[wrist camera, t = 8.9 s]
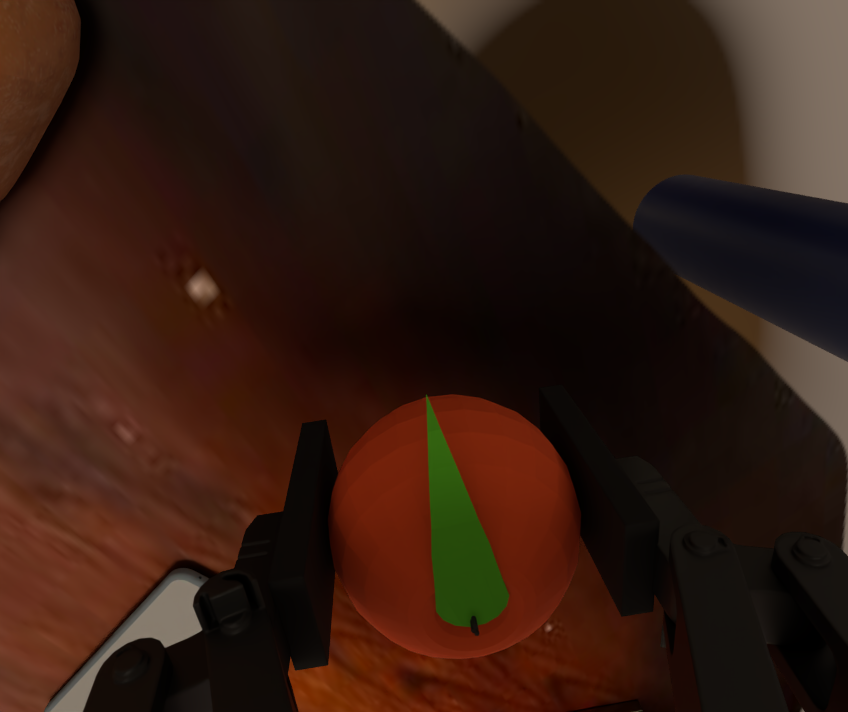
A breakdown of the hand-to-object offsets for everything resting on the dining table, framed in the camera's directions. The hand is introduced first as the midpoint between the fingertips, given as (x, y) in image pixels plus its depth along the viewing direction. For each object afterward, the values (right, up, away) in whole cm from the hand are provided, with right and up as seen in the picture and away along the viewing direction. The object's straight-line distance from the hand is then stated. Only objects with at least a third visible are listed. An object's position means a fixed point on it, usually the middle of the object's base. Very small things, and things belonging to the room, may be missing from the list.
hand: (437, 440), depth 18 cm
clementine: (0, 0, 0) cm, 1 cm away
